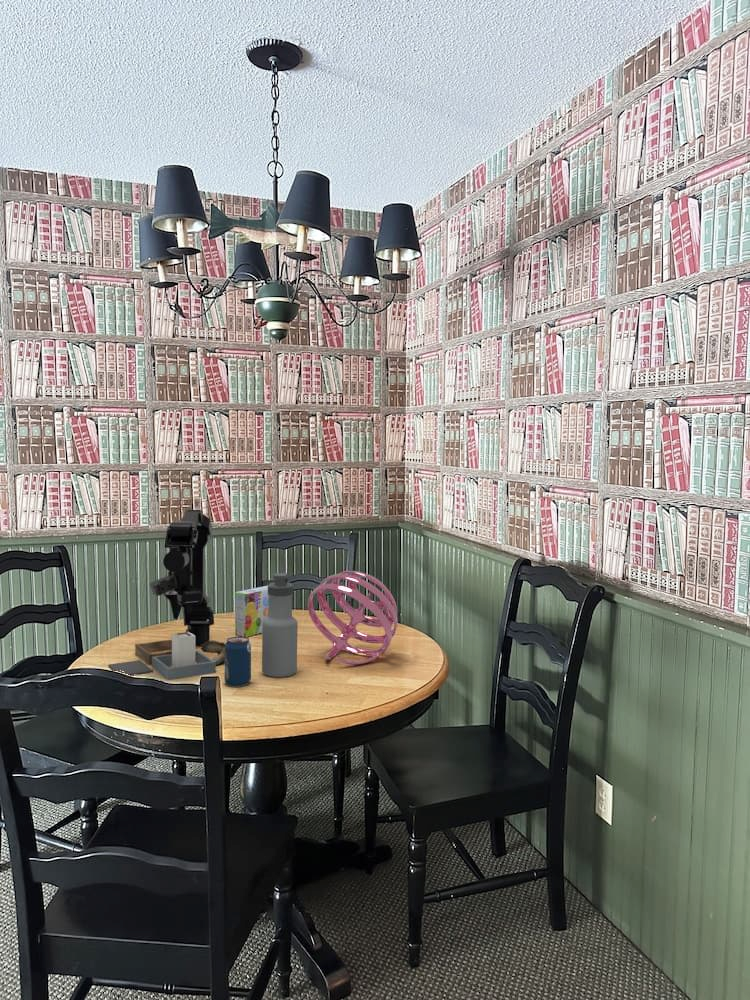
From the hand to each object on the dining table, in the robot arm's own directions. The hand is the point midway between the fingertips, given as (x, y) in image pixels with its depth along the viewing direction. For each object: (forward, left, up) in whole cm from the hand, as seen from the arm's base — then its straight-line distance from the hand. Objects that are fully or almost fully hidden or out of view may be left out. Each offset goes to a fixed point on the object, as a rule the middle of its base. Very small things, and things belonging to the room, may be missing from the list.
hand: (181, 621), depth 206 cm
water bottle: (-22, +17, -14) cm, 31 cm away
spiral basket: (-48, +16, -14) cm, 53 cm away
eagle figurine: (-12, -1, -14) cm, 18 cm away
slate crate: (0, +1, -13) cm, 14 cm away
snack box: (-39, -29, -14) cm, 51 cm away
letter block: (0, +1, -14) cm, 14 cm away
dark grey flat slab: (+12, -7, -14) cm, 19 cm away
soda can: (-8, +20, -14) cm, 26 cm away
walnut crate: (0, -15, -13) cm, 20 cm away
